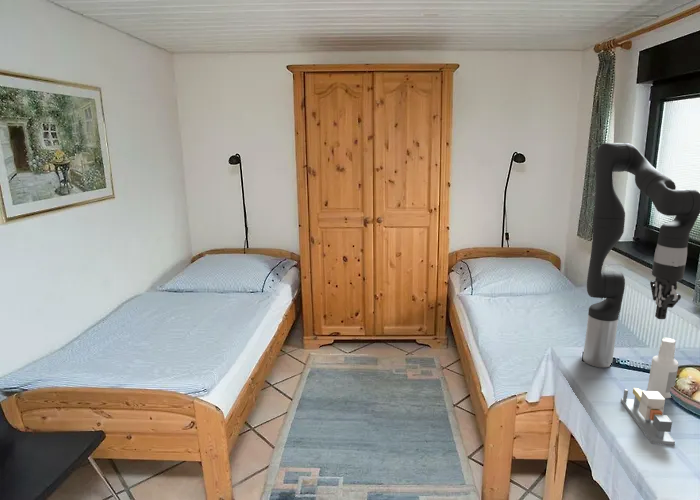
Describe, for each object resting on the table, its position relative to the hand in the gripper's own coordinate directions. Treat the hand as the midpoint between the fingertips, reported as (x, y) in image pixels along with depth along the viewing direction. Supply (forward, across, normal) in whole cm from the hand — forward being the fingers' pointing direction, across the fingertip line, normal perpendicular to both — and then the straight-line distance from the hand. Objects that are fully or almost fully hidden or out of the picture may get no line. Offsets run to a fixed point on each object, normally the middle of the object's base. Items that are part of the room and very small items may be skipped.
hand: (660, 318), depth 141 cm
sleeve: (+24, +13, -5) cm, 28 cm away
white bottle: (+27, -5, +6) cm, 28 cm away
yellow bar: (+23, +12, -5) cm, 27 cm away
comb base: (+27, +11, -5) cm, 30 cm away
